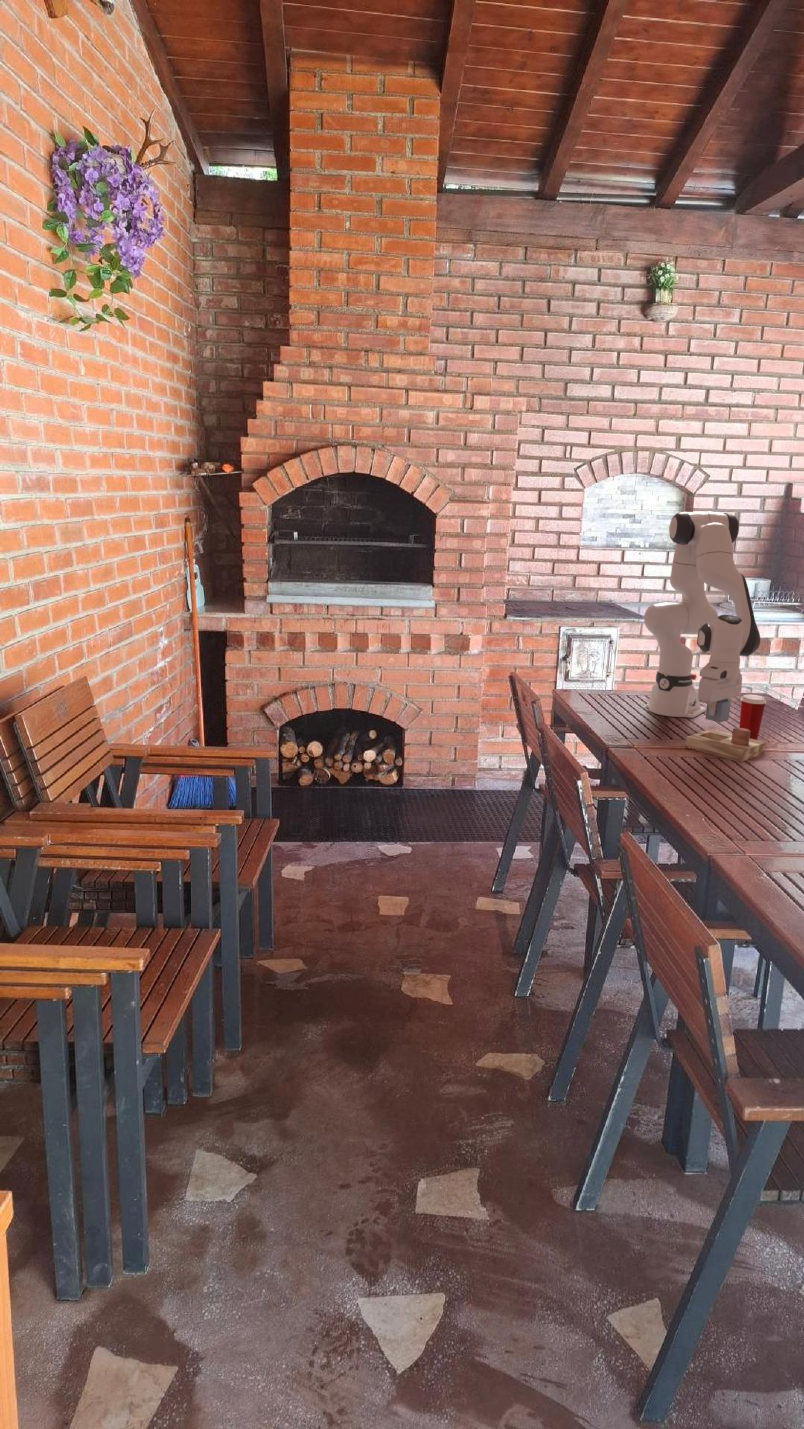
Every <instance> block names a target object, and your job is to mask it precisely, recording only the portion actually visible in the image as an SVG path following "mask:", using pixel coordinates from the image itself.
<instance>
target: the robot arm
mask: <svg viewBox="0 0 804 1429" xmlns="http://www.w3.org/2000/svg"><path fill="white" fill-rule="evenodd" d="M668 528H669V529H668V532H669V533H668V534H669V538H670V539H671V541H672V542H673V543H674V544H676V545H675V550H674V553H673V557H672V558H673V559H672V565H671V571H670V572H671V573H670V577H669V578H670V579H669V583H670V586H671V587H672V588H673V589H674V590H675V591H677V592H678V593H680V594H681V595H682V596H681V597H682V601H681V602H670V601H668V602H667V601H663V602H657V603H653V604H650V605H649V606H648V607H647V608H646V610H645V613H644V616H643V621H644V626H645V628H646V629H647V630H648V631H649V632H650V633H651V634H652V635H653V637H654V638H655V640H656V642H657V644H658V649H659V656H658V657H659V659H658V670H657V672H656V675H655V682H656V683H654V684H653V685H652V688H651V692H650V697H649V702H648V703H646V706H645V707H646V708H647V709H648V711H649V712H651V713H652V714H657V715H660V716H665V717H674V718H690V719H692V718H693V719H694V718H696V717H697V716H699V715H701V714H703V713H704V712H705V713H706V710H707V707H705V706H703V705H701V703H703V704H706V705H707V704H708V707H709V715H712V716H714V715H716V712H717V710H716V708H715V705H716V703H717V701H721V700H728V701H732V700H731V699H732V698H736V697H739V696H740V695H741V692H742V687H743V675H742V673H741V669H740V665H741V657H750V656H751V655H752V654H754V653H755V652H756V651H757V650H758V649H759V648H760V644H761V635H760V631H759V628H758V625H757V623H756V622H757V621H756V618H755V615H754V610H753V609H754V608H753V604H752V600H751V596H750V591H749V587H748V582H747V580H746V576H745V575H743V574H742V573H740V571H739V570H738V568H737V566H736V564H735V559H734V549H733V546H734V545H733V543H734V542H735V541H737V538H738V536H739V531H740V522H739V520H738V518H737V516H736V515H734V514H732V513H727V512H724V513H722V512H716V511H692V512H691V511H689V512H688V511H680V512H677V513H675V514H674V515H673V516H672V518H671V520H670V522H669V527H668ZM705 584H706V585H708V586H709V587H712V588H715V589H716V590H719V591H721V592H723V593H725V594H727V595H728V596H729V597H730V598H731V599H732V601H733V603H734V604H733V605H734V609H735V614H736V616H735V615H733V614H721V615H719V613H718V611H717V610H716V608H715V606H713V605H712V604H711V603H710V601H709V600H708V598H707V595H706V591H705ZM681 635H695V636H696V635H697V638H696V644H697V646H698V648H699V649H700V650H701V651H702V652H704V653H706V654H710V656H709V661H708V662H707V663H706V664H705V665H704V666H703V667H702V668H701V669H700V670H699V676H700V677H701V678H700V680H699V682H698V690H697V689H696V688H695V686H694V685H693V684H694V683H693V681H696V680H697V674H696V673H695V674H694V673H692V667H693V658H694V654H693V651H692V649H691V648H689V647H688V646H687V645H685V644H683V643H682V642H681ZM740 656H741V657H740Z"/></svg>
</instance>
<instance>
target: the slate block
mask: <svg viewBox="0 0 804 1429" xmlns="http://www.w3.org/2000/svg"><path fill="white" fill-rule="evenodd" d="M731 703H732V700H730V701H728V700H721V701H717V703H716V705H715V708H716V710H717V712H716V715H714V716H712V715H709V707H708V704H707V703H706V711H705V718H704V719H705V720H708V721H712V722H716V723H723V722H727V721H729V719H730V712H731Z"/></svg>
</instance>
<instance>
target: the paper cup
mask: <svg viewBox="0 0 804 1429" xmlns="http://www.w3.org/2000/svg"><path fill="white" fill-rule="evenodd" d="M739 700H740V701H741V703H740V704H741V705H740V715H739V716H740V717H739V727H738V728H743V729H747V730H750V731H751V732H750V739H754V740H758V739H759V738H758V737H759V733H760V729H761V723H762V720H763V715H764V710H765V707H766V706H765V705H766V704H767V701H766V698H765V697H764V696H762V695H757V694H744V695H742V696H741V698H740V699H739Z"/></svg>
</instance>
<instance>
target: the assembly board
mask: <svg viewBox="0 0 804 1429" xmlns="http://www.w3.org/2000/svg"><path fill="white" fill-rule="evenodd" d="M750 732H751V731H750V730H747V729H743V728H739V727H735V728H733V729H732V733H729V732H726V731H723V730H722V731H721V730H717V729H713V728H711V729H707V730H704V731H701V732H697V733H694V734H691V735H688V736H686V741H685V747H686V746H688V747H690V748H694V749H696V750H695V751H697V752H701V753H705V754H708V755H711V756H712V755H713V756H714V757H715V756H716V757H719V758H723V759H728V760H731V761H734V762H738V763H742V762H745V761H747V760H751V759H753V758H755V757H758V756H760V755H764V754H765V750H766V742H764V741H761V740H758V739H757V740H754V739H750ZM690 748H689V749H690Z"/></svg>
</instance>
